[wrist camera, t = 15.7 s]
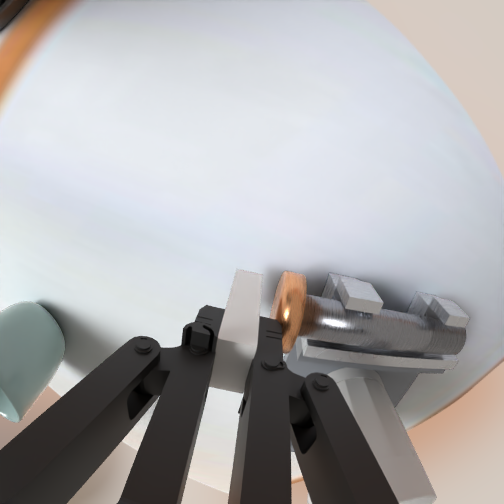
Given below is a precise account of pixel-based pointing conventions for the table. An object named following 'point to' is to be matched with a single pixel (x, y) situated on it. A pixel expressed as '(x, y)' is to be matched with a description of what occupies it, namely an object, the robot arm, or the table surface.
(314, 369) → the dock
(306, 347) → the lug rail
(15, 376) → the cup
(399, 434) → the cup
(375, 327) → the lock pin
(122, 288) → the table surface
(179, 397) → the robot arm
